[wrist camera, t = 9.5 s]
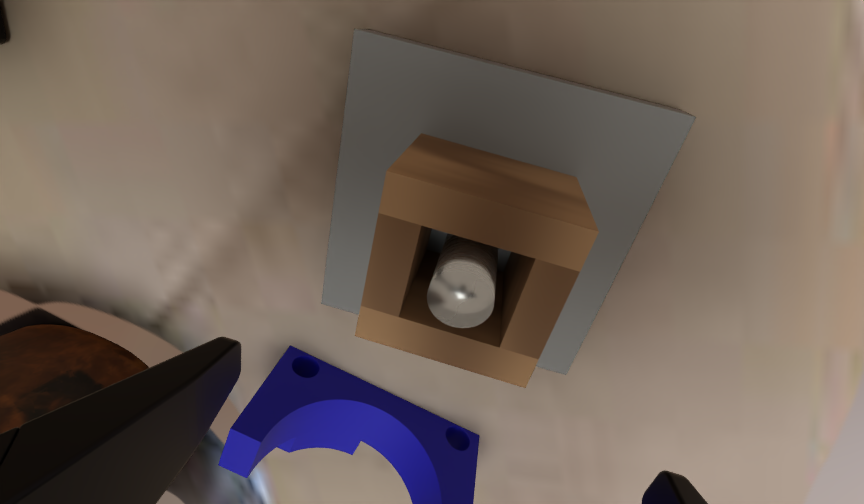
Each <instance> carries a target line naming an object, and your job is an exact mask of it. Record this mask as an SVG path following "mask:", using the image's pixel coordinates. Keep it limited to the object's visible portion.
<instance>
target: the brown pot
mask: <svg viewBox="0 0 864 504" xmlns="http://www.w3.org/2000/svg"><path fill="white" fill-rule="evenodd" d="M148 368H149V367H148V366H147V365H146V364H145V363H143V362H142V361H141V360H140V359H139V358H137V357H136V356H135V355H134V354H132V353H131V352H129V351H128V350H126V349H124V348H123V347H121V346H119V345H117V344H115V343H113V342H111V341H109V340H107V339H105V338H102V337H100V336H98V335H96V334H93V333H91V332H88V331H85V330H81V329H78V328H74V327H69V326H63V325H53V324H41V325H32V326H26V327H23V328H20V329H18V330H15V331H13V332H10V333H7V334H5V335H2V336H0V434H1V433H4V432H6V431H8V430H10V429H13V428H15V427H19V428H20V427H21V425H22V424H24V423H26V422H29V421H31V420H33V419H35V418H38V417H40V416H42V415H44V414H47V413H49V412H51V411H53V410H56V409H58V408H60V407H63V406H65V405H67V404H69V403H72V402H74V401H76V400H78V399H81V398H83V397H85V396H87V395H90V394H92V393H94V392H96V391H99V390H101V389H103V388H105V387H108V386H110V385H112V384H114V383H117V382H119V381H121V380H123V379H126V378H128V377H130V376H132V375H135V374H137V373H139V372H141V371H144V370H146V369H148Z"/></svg>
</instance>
